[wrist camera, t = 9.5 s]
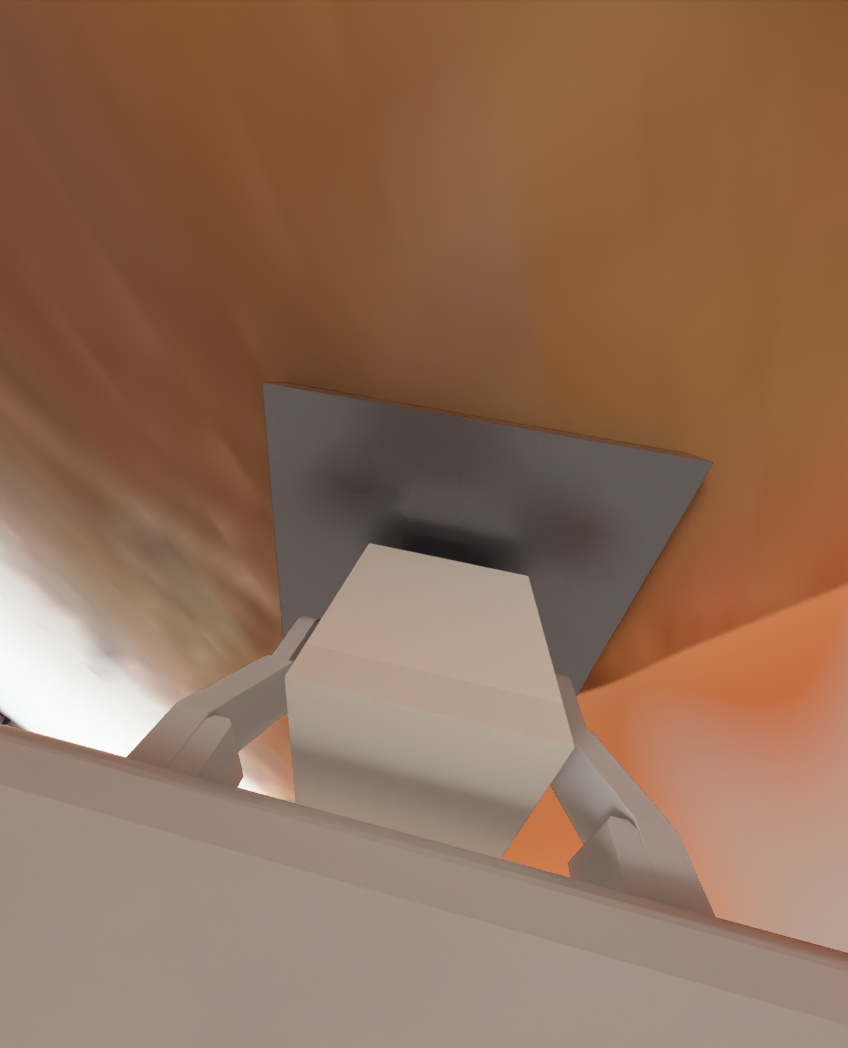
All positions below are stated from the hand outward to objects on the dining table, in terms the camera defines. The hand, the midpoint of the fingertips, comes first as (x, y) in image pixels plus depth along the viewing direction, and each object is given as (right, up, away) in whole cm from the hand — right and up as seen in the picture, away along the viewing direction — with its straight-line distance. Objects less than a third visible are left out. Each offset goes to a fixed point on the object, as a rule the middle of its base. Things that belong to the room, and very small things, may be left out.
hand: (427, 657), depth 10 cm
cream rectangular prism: (0, +1, +2) cm, 2 cm away
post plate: (+1, +2, +4) cm, 4 cm away
